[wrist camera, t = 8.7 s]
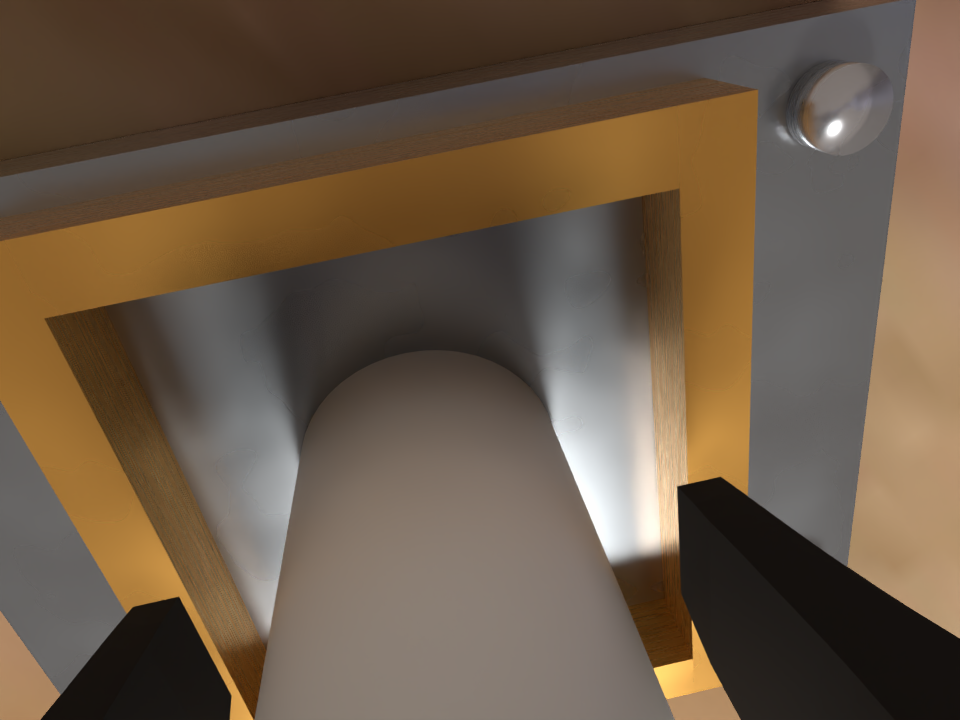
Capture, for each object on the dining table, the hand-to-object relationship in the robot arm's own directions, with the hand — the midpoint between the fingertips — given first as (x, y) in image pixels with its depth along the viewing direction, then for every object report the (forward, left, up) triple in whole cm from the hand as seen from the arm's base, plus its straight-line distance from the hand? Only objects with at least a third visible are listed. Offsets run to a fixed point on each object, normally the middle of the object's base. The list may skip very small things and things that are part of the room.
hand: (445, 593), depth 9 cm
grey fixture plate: (0, 0, -5) cm, 5 cm away
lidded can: (0, 0, -3) cm, 3 cm away
